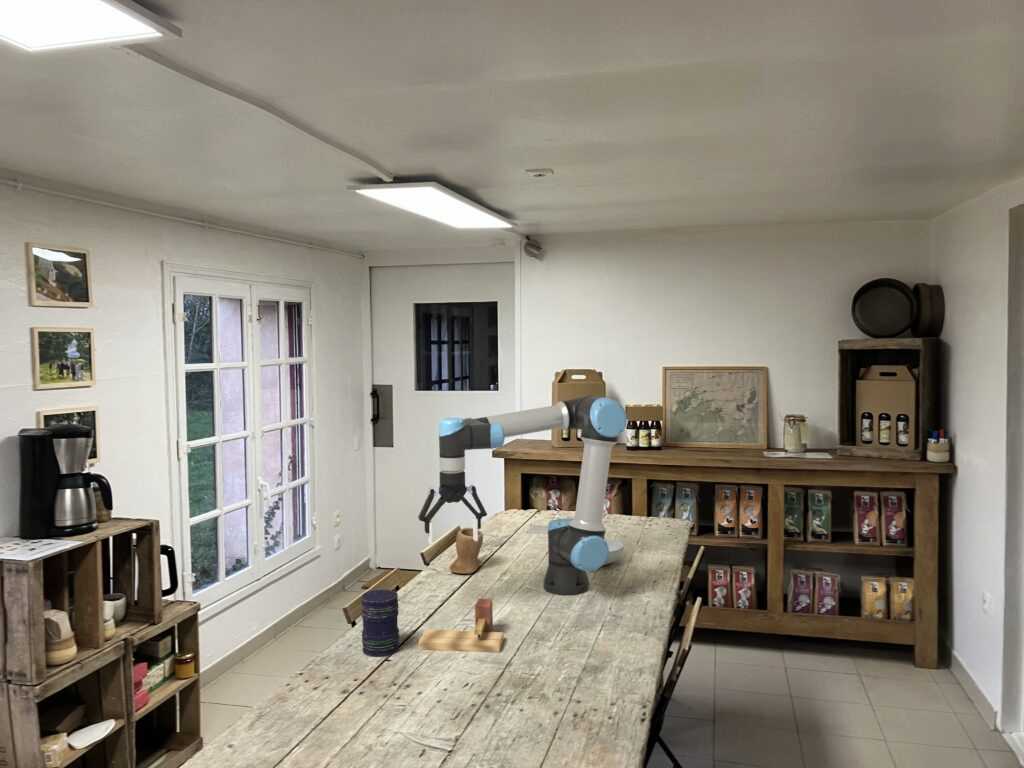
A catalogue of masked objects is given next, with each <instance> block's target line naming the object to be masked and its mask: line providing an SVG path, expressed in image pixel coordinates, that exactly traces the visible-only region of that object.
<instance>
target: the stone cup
mask: <svg viewBox="0 0 1024 768" xmlns="http://www.w3.org/2000/svg"><path fill="white" fill-rule="evenodd" d="M483 542H484V534H483V532H482V531H481V530H480V529H478V541H475V540H474V539H473V527H463V528H461V529H460V530H458V532H457V533H456V538H455V550H456V554H457V558H456V559H455V560H454V561H453V562H452V563H451V565H450V566H449V569H448V570H449V572H451V573H453V574H454V573H455V574H461V575H463V574H468V575H469V574H473V573H475V572H476V571H477V570H478V568H479V567H480V566H481V564H482V560H481V559H479V554H480V551H481V550H482V549H481V548H482V546H483Z"/></svg>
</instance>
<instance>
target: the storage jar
mask: <svg viewBox="0 0 1024 768" xmlns="http://www.w3.org/2000/svg"><path fill="white" fill-rule="evenodd" d="M398 598H399V595H398V592H397V591H395V590H390V589H376V590H375V589H374V590H371V591H370V590H369V591H367V592H364V593H363V594H362V595H361V607H360V609H361V614H360V615H361V618H362V632H361V642H362V647H363V648H362V653H363V655H365V656H367V657H372V658H384V657H389V656H393V655H395V654H396V653H398V652H399V650H400V647H399V643H400V629H399V627H398V624H399V623H398V616H399V599H398Z"/></svg>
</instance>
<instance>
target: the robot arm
mask: <svg viewBox="0 0 1024 768" xmlns="http://www.w3.org/2000/svg"><path fill="white" fill-rule="evenodd" d="M627 419H628V418H627V412H626V410H625V408H624V406H623V405H622V404H621V403H620V402H618V401H616V400H614V399H612V398H610V397H602V396H597V395H596V396H595V395H584V396H579V397H575V398H570V399H567V400H561V401H558V402H557V403H556V405H550V406H549V405H548V406H543V407H537V408H531V409H526V410H520V411H514V412H513V411H512V412H506V413H500V414H495V415H490V416H483V417H476V418H471V417H466V418H461V417H447V418H442V419H440V421H439V425H438V446H439V450H438V451H439V452H438V453H439V459H438V460H439V461H438V462H439V463H438V464H439V465H438V466H439V470H440V472H439V487H438V488H433V487H429V488H428V495H427V496H426V499H425V501H424V504H423V505H422V508H421V510H420V512H419V513H418V516H417V519H418V520H419V521H420V522H424V532H425V533H426V534H428V535H427V538H428V540H427V541H428V544H429V546H433V545H434V544H433V543H434V541H433V522H432V520H433V518H434V517H435V515H437V513H438V512H439V511H440V509H441V508H442V507H443V506H444V504H446V503H447V504H451V503H459V502H462V503H463V504H464V505H465V506H466V507H467V509H469V511H470V512H471V513H472V514H473V515H474V516H475V517H472V528H473V539H474V540H475V541H478V530H481V527H482V524H481V523H482V518H484V517H487V515H488V513H487V511H486V509H485V507H484V506H483V503H482V501H481V500H480V497H479V496H478V494H477V488H476V486H475V485H473V484H470V486H467V485H466V472H465V469H466V458H465V457H466V451H470V450H471V451H472V450H490V449H491V450H493V449H497V448H498V449H499V448H502V447H503V446H504V443H505V439H506V438H509V437H515V436H522V435H526V434H527V435H528V434H533V433H538V432H539V433H540V432H544V431H545V432H546V431H549V430H550V431H552V430H555V429H561V430H563V431H567V430H578V431H579V430H580V432H581V433H580V440H581V441H582V442H583V443H584V446H583V453H582V462H581V468H580V475H579V482H578V489H577V497H576V506H575V512H574V517H573V518H571V517H568V518H556V519H553V520H550V521H549V523H548V525H547V526H548V534H547V539H548V540H547V545H548V548H547V549H548V552H547V553H548V555H547V556H548V560H547V561H548V564H547V568H546V571H545V574H544V578H543V584H542V585H543V590H544V591H545V592H548V593H550V594H554V595H562V596H570V595H571V596H572V595H579V594H583V593H586V592H587V591H588V590H590V581H589V578H588V574H587V572H588V573H589V572H594V571H597V570H599V569H600V568H601V567H602V566H604V565H603V564H604V563H605V562H606V560H607V558H608V554H609V548H608V545H607V543H606V541H605V540H604V538H605V534H606V527H605V526H604V524H603V523H602V522H603V521H602V519H603V513H604V507H605V500H606V499H605V498H606V492H607V484H608V477H609V471H610V461H611V455H612V449H613V447H614V446H615V445H616V444H618V440H619V435H620V434H621V433H623V431H624V430H625V428H626V427H627V421H628V420H627ZM467 492H468V494H469V495H470V494H471V497H472V498H473V500H474V503H475V504H476V506H477V508H478V510H479V512H478V511H477V509H476V508H475V507H474V506H473V505H472V504H471V503H470V502H469V500H468V499H466V498H465V495H466V494H467ZM437 494H439V495H440V497H439V498H438V499H437V501H436V503H435V504H434V505H433V506H432V507H431V504H432V503H433V500H434V498H435V497H436V496H437ZM430 507H431V509H430ZM429 509H430V510H429ZM428 511H429V512H428Z"/></svg>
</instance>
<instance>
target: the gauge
mask: <svg viewBox="0 0 1024 768" xmlns="http://www.w3.org/2000/svg"><path fill="white" fill-rule="evenodd" d="M493 611H494V610H493V598H478V599H477V601H476V604H475V606H474V613H475V614H474V618H475V619H474V622H475V623H474V626H475V627H474V629H473V630H474V635H478V638H480V635H481V634H482V632H494V631H493V630H494V628H493V627H494V626H493V625H494V623H493V622H494V621H493V619H494V618H493V617H494V615H493Z"/></svg>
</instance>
